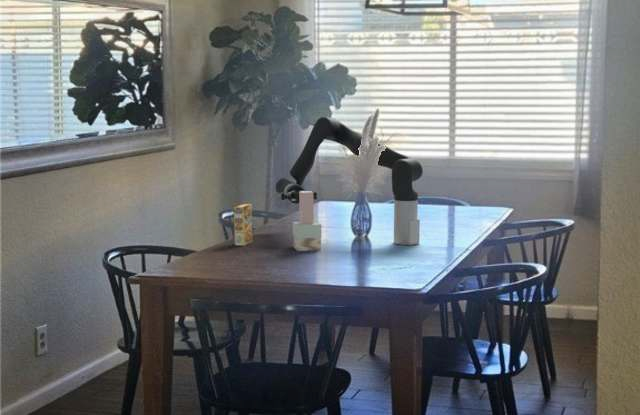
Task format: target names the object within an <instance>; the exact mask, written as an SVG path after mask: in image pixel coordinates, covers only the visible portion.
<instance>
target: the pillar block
mask: <svg viewBox="0 0 640 415" xmlns="http://www.w3.org/2000/svg"><path fill="white" fill-rule="evenodd" d="M312 191H313V190H305V191H299V203H298V204H299V205H298V207H299V222H300V223H301V224H314V221H315V220H314V215H315V214H314V199H313V192H314V191H313V192H312Z"/></svg>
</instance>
